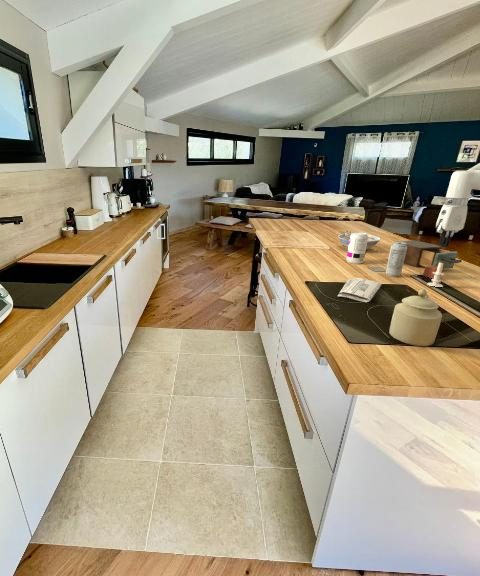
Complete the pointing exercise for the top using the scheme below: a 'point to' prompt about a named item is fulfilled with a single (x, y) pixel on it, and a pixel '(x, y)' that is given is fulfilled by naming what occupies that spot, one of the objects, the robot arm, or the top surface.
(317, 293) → the top surface
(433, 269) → the block
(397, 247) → the energy drink can
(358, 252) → the supplement can
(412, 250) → the cabinet
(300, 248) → the top surface
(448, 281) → the top surface
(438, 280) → the white tapered tower
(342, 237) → the ramen bowl
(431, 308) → the sugar bowl
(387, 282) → the top surface
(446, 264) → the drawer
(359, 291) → the newspaper
